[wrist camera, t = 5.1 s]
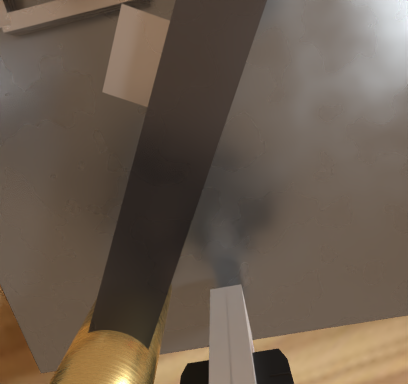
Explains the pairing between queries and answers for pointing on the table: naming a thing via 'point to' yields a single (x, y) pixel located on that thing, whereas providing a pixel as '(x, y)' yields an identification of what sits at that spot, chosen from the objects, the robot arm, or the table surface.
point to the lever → (160, 174)
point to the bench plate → (211, 172)
